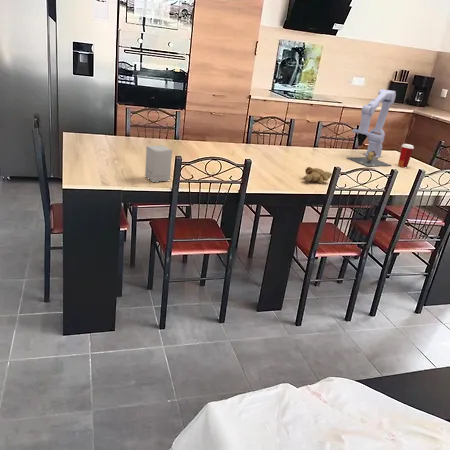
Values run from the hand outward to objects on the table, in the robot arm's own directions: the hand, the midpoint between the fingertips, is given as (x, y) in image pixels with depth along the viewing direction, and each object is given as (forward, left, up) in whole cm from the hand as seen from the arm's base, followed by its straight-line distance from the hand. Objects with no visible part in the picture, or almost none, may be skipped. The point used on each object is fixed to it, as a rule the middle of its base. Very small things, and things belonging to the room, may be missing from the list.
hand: (359, 145), depth 289 cm
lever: (-7, +5, -6) cm, 11 cm away
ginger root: (+62, +35, -10) cm, 72 cm away
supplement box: (+145, +23, -10) cm, 147 cm away
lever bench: (-5, +6, -9) cm, 12 cm away
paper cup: (-24, +17, -10) cm, 31 cm away
